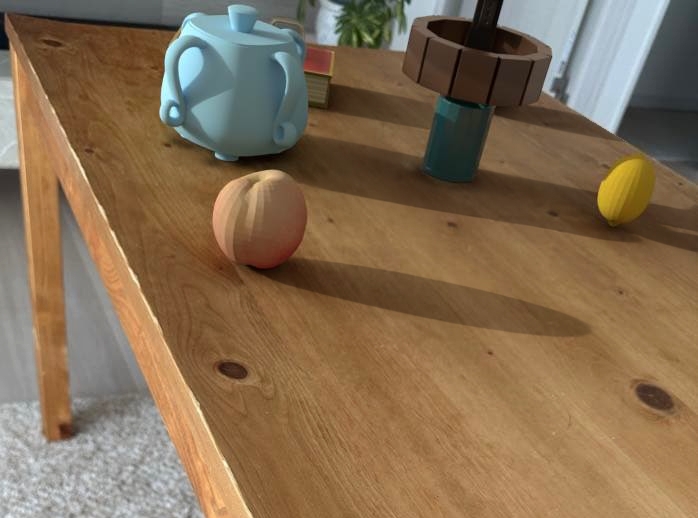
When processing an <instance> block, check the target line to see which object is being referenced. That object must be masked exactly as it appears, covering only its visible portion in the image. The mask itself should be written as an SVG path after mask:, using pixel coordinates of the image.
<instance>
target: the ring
mask: <svg viewBox="0 0 698 518" xmlns="http://www.w3.org/2000/svg"><path fill="white" fill-rule="evenodd" d="M472 22H473V18H470V17H469V18H466V17H465V16H453V15H442V14H437V15H436V14H432V15H425V16H417V17H415V18H414V19H413V21H412V24H411V26H410V29H409V30H410V31H409V35H408V40H407V45H406V50H405V54H404V58H403V63H402V68H401V72H402V74H404V75H405V76H406V77H408V79H410V80H411V81H412V82H413V83H415V84H416V85H419V86H420V87H423V88H425V89H428V90H429V91H432V92H436V93H438V94H439V93H440V94H442V95H445V96H450V95H451V98H455V99H460V100H464V101H469V102H473V103H478V104H482V105H485V103H486V104H487V105H489V106H495V107H509V108H510V107H511V108H520V107H525V106H529V105H532V104H536V103H538V102H539V100H540V97H541V94H542V90H543V88H544V84H545V81H546V78H547V75H548V72H549V70H550V65H551V63H552V60H553V49H552V47H551V46H549V45H548V44H546V43H545V42H544V41H542V40H540V39H538V38H536V37H535V36H532V35H530V34H529V33H526V32H523V31H519V30H516V29H514V28H511V27H508V26H505V25H500V24H498V23H497V27H496V30H495V34H494V38H493V41H492V45H491V49H490V52H486V51H481V50H477V49H472V48H468V47H466V45H467V41H468V38H469V34H470V30H471V26H472Z"/></svg>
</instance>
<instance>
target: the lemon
mask: <svg viewBox="0 0 698 518" xmlns="http://www.w3.org/2000/svg"><path fill="white" fill-rule="evenodd" d="M655 185H656V171H655V168H654V166H653V164H652V163H651V161H650V160H649V159H647V157H646V156H645V154H644V153H642V152H637V153H635V154H630V155H626V156H623V157H621V158H620V159H618V160H616V161H615V162H613V164H612V165H610V167H609V169H607V171H606V173H605V175H604V177H603V178H602V181H601V183H600V186H599V189H598V193H597V206H598V210H599V212H600V214H601V215H602V216H603V218H605V219H606V221H607V223H608V226H610V227H616V226H618V225H620V224H625V223H629V222H632V221H633V220H635V219H637V218H638V217H639V216H641V214H643V212H644V211H645V210H646V208H647V207H648V205H649V203H650V201H651V199H652V197H653V194H654V191H655Z"/></svg>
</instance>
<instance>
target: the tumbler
mask: <svg viewBox="0 0 698 518" xmlns="http://www.w3.org/2000/svg"><path fill="white" fill-rule="evenodd" d="M495 110H496V106H489V105H487V104H486V103H485V105H482V104H478V103H473V102H469V101H464V100H460V99H455V98H451V95H450V96H445V95H442V94H440V93H438V97H437V102H436V105H435V110H434V114H433V119H432V123H431V126H430V131H429V135H428V139H427V143H426V147H425V152H424V156H423V159H422V163H421V168H422V169H423V171H424V172H425V173H426V174H428V175H430V176H432V177H434V178H436V179H439V180H442V181H446V182H450V183H451V182H452V183H470V182H471V181H472V182H473V181H474V180H475V178H476V175H477V174H478V169H479V167H480V163H481V159H482V156H483V153H484V149H485V145H486V142H487V139H488V135H489V132H490V127H491V124H492V121H493V117H494V114H495Z"/></svg>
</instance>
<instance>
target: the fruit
mask: <svg viewBox="0 0 698 518" xmlns="http://www.w3.org/2000/svg"><path fill="white" fill-rule="evenodd" d="M308 218H309V217H308V208H307V201H306V198H305V194H304V193H303V190H302V188H301V187H300V185H299V184H298V183H297V181H296V180H294V179H293V177H291V176H290V175H289V174H288V173H287V172H284V171H281V170H279V169H266V170H265V169H264V170H260V171H257V172H251V173H249V174H247V175H244V176H241V177H238V178H236V179H232V180H231V181H229V182H228V183H227V184H226V185H225V186H224V187H223V188H222V189H221V190H220V192H219V193H218V196H217V197H216V200H215V203H214V205H213V212H212V229H213V233H214V236H215V239H216V242H217V244H218V246H219V247H220V249H221V251H222V252H223V254H224V255H225V256H226V257H227V258H228V259H229V260H230V261H231V262H233V263H234V264H236V265H238V266H239V265H240V266H252V267H254V268H257V269H263V270H264V269H265V270H266V269H272V268H275V267H277V266H279V265H281V264H284V262H285V261H287V260H289V259H290V258H291V257H292V256H293V255H294V253H296V251H297V250H298V248H299V247H300V245H301V243H302V241H303V239H304V235H305V232H306V228H307V225H308Z"/></svg>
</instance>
